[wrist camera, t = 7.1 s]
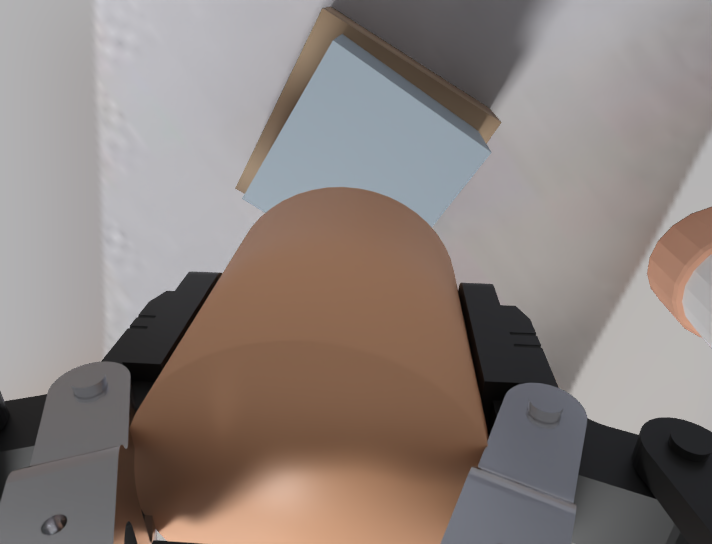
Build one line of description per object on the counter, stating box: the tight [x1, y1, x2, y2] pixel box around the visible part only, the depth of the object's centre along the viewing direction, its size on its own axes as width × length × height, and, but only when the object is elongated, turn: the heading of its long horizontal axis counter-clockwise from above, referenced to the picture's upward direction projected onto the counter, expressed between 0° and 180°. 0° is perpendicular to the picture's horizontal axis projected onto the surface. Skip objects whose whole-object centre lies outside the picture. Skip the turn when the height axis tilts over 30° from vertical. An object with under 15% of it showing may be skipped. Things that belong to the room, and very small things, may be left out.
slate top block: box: [242, 34, 491, 228], centre depth 25 cm, size 8×8×4 cm
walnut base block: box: [235, 7, 501, 194], centre depth 29 cm, size 10×10×4 cm
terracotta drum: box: [129, 187, 489, 544], centre depth 11 cm, size 6×6×6 cm
